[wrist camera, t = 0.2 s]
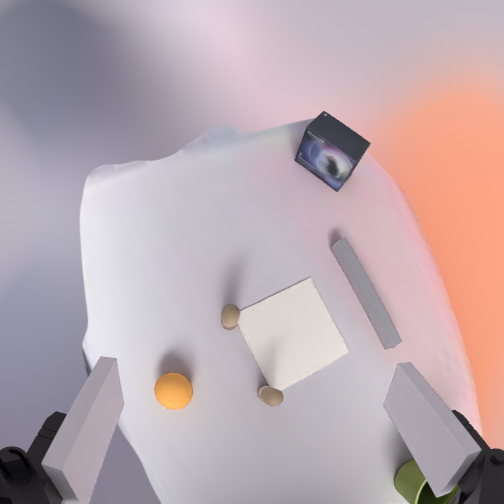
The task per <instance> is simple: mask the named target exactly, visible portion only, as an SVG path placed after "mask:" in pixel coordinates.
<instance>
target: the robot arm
mask: <svg viewBox="0 0 504 504" xmlns="http://www.w3.org/2000/svg"><path fill="white" fill-rule="evenodd" d="M123 406H124V400H123V395H122V390H121V384H120V378H119V372H118V366H117V359H116V358H109V357H102V356H101V357H100V359H99V360H98V362H97V364H96V365H95V367H94V369H93V370H92V372H91V374H90V375H89V377H88V379H87V381H86V382H85V384H84V386H83V387H82V389H81V391H80V393H79V394H78V396H77V398H76V400H75V401H74V403H73V405H72V407H71V409H70V410H69V412H68V414H64V413H60V412H55V413H53V414H52V415H51V416H49V417H48V418H47V419H46V421H45V422H44V424H43V426H42V429H40V431H39V432H38V436H36V438H35V439H34V441H33V443H32V445H31V446H30V448H29V450H28V452H27V453H26V452H25V451H23V450H22V449H21V448H18V447H6V448H3V449H1V450H0V504H61V503H62V500H63V501H64V502H65V504H89V502H90V499H91V496H92V493H93V490H94V487H95V484H96V481H97V478H98V475H99V472H100V469H101V466H102V464H103V461H104V458H105V455H106V452H107V449H108V447H109V444H110V441H111V438H112V435H113V433H114V430H115V427H116V425H117V422H118V419H119V417H120V414H121V411H122V409H123ZM383 407H384V408H385V410H386V412H387V413H388V415H389V417H390V418H391V420H392V422H393V423H394V425H395V427H396V428H397V430H398V432H399V433H400V435H401V437H402V438H403V440H404V442H405V444H406V445H407V447H408V449H409V450H410V452H411V454H412V456H413V457H414V459H415V461H416V463H417V464H418V466H419V468H420V469H421V471H422V473H423V475H424V476H425V478H426V480H427V482H428V484H429V485H430V487H431V489H432V491H433V492H434V494H435V496H436V498H437V497H440V496H443V495H445V494H448V493H450V492H451V491H452V490H453V489H454V487H455V486H456V485H457V484H458V486H459V487H460V489H459V490H458V492H457V493H456V494H455V495H454V497H453V498H452V499H451V500H450V502H449V504H451V503H452V502H453V501H454V500H455V503H454V504H504V451H503V450H501V449H495V448H494V449H490V448H489V446H488V445H487V444H486V442H485V441H484V440H483V439H482V437H481V436H480V435H479V434H478V433H477V431H476V430H474V428H473V426H472V425H471V424H469V422H468V420H467V419H466V418H465V417H464V415H462V414H461V413H459V412H458V411H456V410H452V411H451V410H450V409H449V408H448V407H447V405H446V404H445V403H444V402H443V400H442V399H441V398H440V397H439V396H438V394H437V393H436V392H435V391H434V389H433V388H432V387H431V386H430V385H429V383H428V382H427V381H426V380H425V379H424V378H423V376H422V375H421V374H420V373H419V372H418V370H417V369H416V368H415V367H414V366H413V365H412V363H411V362H407V363H398V365H397V368H396V371H395V374H394V377H393V380H392V383H391V386H390V388H389V391H388V394H387V397H386V399H385V402H384V405H383Z"/></svg>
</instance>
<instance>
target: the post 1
mask: <svg viewBox="0 0 504 504" xmlns="http://www.w3.org/2000/svg"><path fill="white" fill-rule="evenodd" d="M239 317H240V310H239V308H238V307H237V306H235V305H232V304H230V305H227V306H225V307H224V308H223V310H222V321H221V322H222V326H223V327H224V328H225V329H228V330H231V329H234V328H235V327H236V325H237V322H238V320H239Z"/></svg>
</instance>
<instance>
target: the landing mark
mask: <svg viewBox="0 0 504 504" xmlns="http://www.w3.org/2000/svg"><path fill="white" fill-rule="evenodd" d="M237 324H238V326H239V328H240V330H241V332H242V334H243V336H244V338H245V340H246V342H247V344H248V346H249V348H250V350H251V352H252V354H253V356H254V358H255V360H256V362H257V364H258V366H259V368H260V369H261V371H262V373H263V375H264V377H265V379H266V381H267V383H268V385H269V386H270V387H273V388H276V389H278V390H280V391H282V390H284V389H286V388H288V387H289V386H291V385H293V384H295V383H297V382H299V381H301V380H302V379H304V378H306V377H308V376H310V375H311V374H313V373H315V372H317V371H318V370H320V369H322V368H324V367H325V366H327V365H329V364H330V363H332V362H334V361H336V360H337V359H339V358H341V357H342V356H344V355H345V354H347V353H349V352H350V351H349V350H348V348H347V346H346V344H345V342H344V340H343V338H342V336H341V334H340V332H339V330H338V328H337V327H336V325H335V323H334V321H333V319H332V317H331V315H330V313H329V311H328V310H327V308H326V306H325V304H324V302H323V300H322V298H321V297H320V295H319V293H318V291H317V289H316V287H315V286H314V284H313V282H312V280H311V278H308V279H306V280H304V281H302V282H300V283H298V284H296V285H294V286H292V287H290V288H288V289H286V290H283V291H281V292H279V293H277V294H275V295H273V296H271V297H269V298H267V299H265V300H263V301H261V302H259V303H256V304H254V305H252V306H250V307H248V308H246V309H244V310H242V311H240V317H239V320H238V322H237Z"/></svg>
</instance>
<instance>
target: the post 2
mask: <svg viewBox="0 0 504 504" xmlns="http://www.w3.org/2000/svg"><path fill="white" fill-rule="evenodd" d="M258 397H259V398H260V399H261V400H263V401H264V402H265V403H267V404H268V405H270V406H278V405H279V404H281V402H282V401H283V394H282V392H281V391H280V390H278V389H276V388H273V387H270V386H262V387H260V388H259V390H258Z"/></svg>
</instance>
